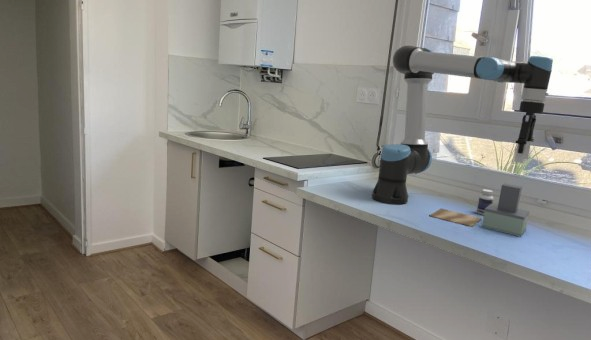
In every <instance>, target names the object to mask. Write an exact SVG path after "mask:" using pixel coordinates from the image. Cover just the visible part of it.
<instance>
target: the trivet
mask: <svg viewBox="0 0 591 340" xmlns="http://www.w3.org/2000/svg"><path fill="white" fill-rule="evenodd" d="M429 217H431V218H435V219H439V220H441V221H447V222H451V223H453V224H454V223H455V224H457V225H458V224H459V225H463V226H466V227H467V226H468V227H471V228H473V227H474V226H475V225H476V224H478V223H479V222H480V221H482V220H483V217H479V216H475V215H471V214H466V213H462V212H458V211H454V210H449V209H445V208H440V209H437V210H436V211H434V212H433V213H430V214H429Z"/></svg>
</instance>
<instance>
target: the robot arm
mask: <svg viewBox="0 0 591 340" xmlns="http://www.w3.org/2000/svg"><path fill="white" fill-rule="evenodd" d="M553 60H554V59H553V58H552V57H551V56H546V55H531V56H530V57H529V58H528V60H527V61H512V60H507V59H503V58H502V59H501V58H498V57H495V56H494V57H493V56H476V55H468V54H467V55H466V54H455V53H444V52H437V51H436V52H434V51H433V50H430V49H428V48H426V47H420V46H413V45H403V46H401V47H399V48H398V49H397V50H396V51H395V52H394V54H393V57H392V64H393V67H394V69H395V70H396V71H397V72H398V73H400V74H402V75H403V74H404V77H403V80H404V81H405V83H406V84H407V85H406V86H407V89H406V103H405V104H406V107H405V125H404V138H403V140H402V141H401V142H400V143H396V144H394V143H390V144H386V145H384V146H383V147H382V148H381V149H382V150H381V153H380V161H379V162H380V163H379V169H378V170H379V172H378V176H377V177H378V178H377V181H376V183H375V186H374V188H373V189H372V192H371V193H372V194H371V198H372V199H373V200H375V201H377V202H380V203H384V204H388V205H389V204H391V205H403V204H407V203H408V201H409V194H408V189H407V178H408V175H410V174H411V175H412V174H419V173H422V172H426V170H428V168H430V167H431V164H432V161H433V155H432V153H431V151H430V149H429V143H428V142H427V141H426V138H425V137H426V125H427V124H426V121H427V109H428V108H427V107H428V104H427V103H428V92H429V90H428V89H429V84H430V83H431V81H433V75H434V74H441V75H449V76H457V77H462V78H463V77H465V78H472V79H480V80H486V81H493V82H498V83H511V84H512V83H513V84H523V89H522V92H521V100H522V101H520V105H519V112H521V113H525V114H524V115H523V116H522V119H521V127H520V130H519V135H518V138H517V140H515V144H517V145H516V149H515V154H514V163H519V164H523V163H524V160H528V159H529V154H530V150H531V145H532V142H534V140H535V139H534V137H533V136H534V131H535V130H534V129H535V125H536V122H537V118H536V117H537V114H540V115H541V114H544V113H543V112H544V109H545V103H544V102H545V101H546V99H547V96H549V92H548V89H549V83H550V79H551V76H552V71H553V69H552V68H553V62H554V61H553Z"/></svg>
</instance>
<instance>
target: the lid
mask: <svg viewBox="0 0 591 340" xmlns="http://www.w3.org/2000/svg"><path fill="white" fill-rule="evenodd" d="M522 189H523V186H519V185H515V184H509V183H503V184H501V187H500V192H499V198H498V204H497V203H494V202H493V203H492V204H490V205H489V206H488V207H486V208H485V211H486V212H491V213H495V214H499V215H504V216H508V217H513V218H517V219H521V220H524V219H525V218H526V217H527V216H528V215H529V214H530V210H527V209H526V210H525V209H520V208H519V203H520V198H521V194H522Z"/></svg>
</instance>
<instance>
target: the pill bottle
mask: <svg viewBox="0 0 591 340" xmlns="http://www.w3.org/2000/svg"><path fill="white" fill-rule="evenodd" d="M493 192H494V190H491V189H485V188H484V189H482V190H481V194H479V196H478V202H477V207H476V213H477V214H479V215H482V216H484V211H485V208H486V207H488V206H489V205H490V204H492V203H494V196H493V194H494V193H493Z"/></svg>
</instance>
